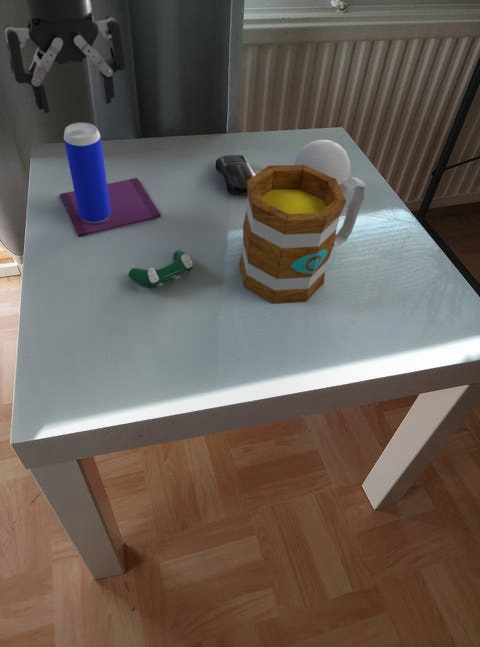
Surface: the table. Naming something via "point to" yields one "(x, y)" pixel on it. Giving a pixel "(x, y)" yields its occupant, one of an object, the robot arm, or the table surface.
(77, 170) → the beverage can
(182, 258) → the gaming controller
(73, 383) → the table surface
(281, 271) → the mug
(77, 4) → the robot arm
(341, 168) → the ball
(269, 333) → the table surface
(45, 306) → the table surface
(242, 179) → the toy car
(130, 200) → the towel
